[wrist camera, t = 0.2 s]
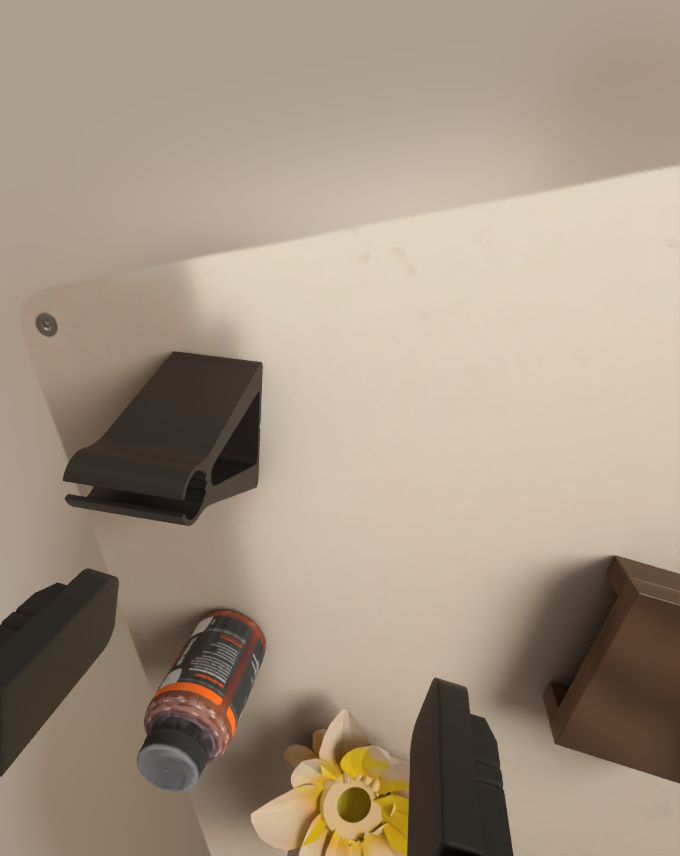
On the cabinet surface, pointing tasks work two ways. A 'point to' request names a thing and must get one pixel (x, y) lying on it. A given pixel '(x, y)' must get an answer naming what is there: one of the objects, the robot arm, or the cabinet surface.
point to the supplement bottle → (201, 700)
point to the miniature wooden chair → (628, 678)
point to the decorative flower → (339, 798)
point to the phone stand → (177, 443)
